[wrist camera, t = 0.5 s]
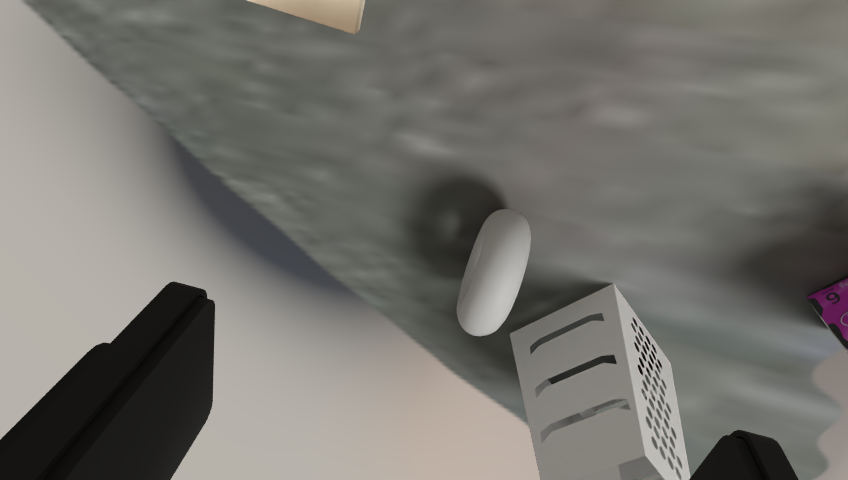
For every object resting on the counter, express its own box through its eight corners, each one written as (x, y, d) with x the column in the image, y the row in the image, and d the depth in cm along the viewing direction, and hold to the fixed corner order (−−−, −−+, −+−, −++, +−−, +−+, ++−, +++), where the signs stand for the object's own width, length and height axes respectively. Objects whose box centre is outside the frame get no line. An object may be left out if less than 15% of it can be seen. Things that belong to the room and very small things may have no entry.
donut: (494, 181, 43) (490, 245, 34) (535, 194, 43) (542, 261, 34) (456, 279, 48) (445, 356, 39) (493, 291, 48) (490, 370, 39)
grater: (613, 283, 46) (676, 495, 29) (670, 363, 49) (757, 596, 32) (509, 333, 50) (510, 545, 33) (568, 404, 53) (597, 629, 36)
